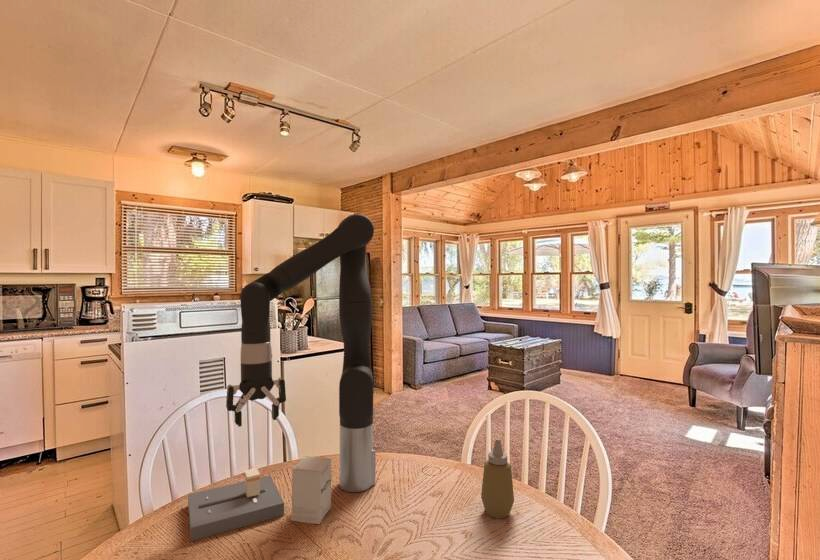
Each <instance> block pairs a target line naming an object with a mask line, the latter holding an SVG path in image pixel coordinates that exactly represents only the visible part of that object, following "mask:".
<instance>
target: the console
mask: <svg viewBox="0 0 820 560" xmlns="http://www.w3.org/2000/svg"><path fill="white" fill-rule="evenodd" d="M187 508H188V510H187V511H188V521H189V522H188V523H189V535H190V537H189V538H190V542H195V541H198V540H201V539H205V538H208V537H211V536H215V535H219V534H224V533H227V532H229V531H232V530H237V529H241V528H245V527H247V526H251V525H254V524H255V525H256V524H257V523H261V522H264V521H269V520H272V519H275V518H279V517H281V516H285V502H284V500H283V498H282V495H281V494H280V492H279V490H278V488H277V485H276V484H275V482H274V480H273V478H272V476H271V475H266V476H260V494H259V495H255V496H251V497H247V496H246V493H245V480H244V481H240V482H235V483H231V484H227V485H222V486H218V487H213V488H208V489H204V490H200V491H196V492H191V493H189V494H187Z"/></svg>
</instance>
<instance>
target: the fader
mask: <svg viewBox="0 0 820 560" xmlns="http://www.w3.org/2000/svg"><path fill="white" fill-rule="evenodd" d="M243 473H244V474H243V475H244V481H245V493H246V496H247V497H251V496H255V495H259V494H260V477H261V475H260V471H259V469H258V467H256V468H251V469H246V470H244V472H243Z"/></svg>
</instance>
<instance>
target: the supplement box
mask: <svg viewBox="0 0 820 560" xmlns="http://www.w3.org/2000/svg"><path fill="white" fill-rule="evenodd" d="M291 472H292V474H291V476H292V477H291V478H292V479H291V521H292V522H300V523H305V524H315V525H320V523H322V521H323V520H324V517H326V515H327V514H328V512H329V511H330V509H331V508H332V458H331V457H330V458H329V457H321V456H309V455H308V456H307V455H306V456H304V457H303V458H302V459H301V460H300V461H299V462H298V463H297V464H296V465H295V466H294V467H292V469H291Z"/></svg>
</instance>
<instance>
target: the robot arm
mask: <svg viewBox="0 0 820 560" xmlns="http://www.w3.org/2000/svg"><path fill="white" fill-rule="evenodd" d="M374 233H375V225H374V223H373V222H372V220H371V219H370V218H369V217H368V216H366V215H364V214H360V213H359V214H358V213H356V214H355V213H354V214H350V215H347V217H345V218H344V219H342V220H341V221H340V222H339V224H338V226H337V227H336V228H335V229H334V230H332V231H331V232H330V233H329V234H328V235H326V236H325V237H324V238H322V239H320V240H319V241H317V242H316V243H314V244H312V245H310V246H309V247H306V248H305V249H303V250H301V251H299V252H298V253H296V254H294V255H292V256H290V257H289V258H287V259H286V260H284V261H283V262H281V263H280V264H278V265H276V266H275V267H274V268H273V269H271V271H269V272H268V273H265V274H263V275H262V276H260V277H259V278H257V279H255V280H253V281H252V282H251V281H250V283H248V284H245V286H243V288H242V290H241V291H240V296H239V297H240V298H239V299H240V300H239V301H240V315H241V331H240V334H241V336H240V338H241V346H240V383H239V384H237V385H232V384H228V385H227V387H226V401H225V402H226V404H225V406H226V409H227V411H228V412H234V423H235V424H236V425H235V426H237V427H238V428H239V427H242V426H243V422H242V421H243V420H242V419H243V417H242V409H243V407H244V406H245V405H246V404H247V403H248V401H251V402H252V401H256V400H263V399H265V398H266V397H267V398H268V399H269V400H270V401H271V403H272V404H271V418H272V419H271V420H273V421H277V418H279V415H280V404H282V403H285V402H287V395H286V394H287V393H286V382H285V379H283V377H279V378H278V379H274V380H273V354H272V352H273V351H272V345H271V344H272V343H271V323H270V313H271V312H270V311H271V310H270V309H271V301H273V300H274V299H276V298H277V297H279V296H280V295H282V294H283V293H285V292H287V291H289V290H291V289H293V288H295V287H297V286H298V285H299V284H301V283H303V282H305V281H306V280H307V279H309V278H310V277H311V276H313V275H314V274H316V273H317V272H319V271H320V270H321V269H323V268H324V267H325V266H327V265H329V264H330V263H331V262H333V261H334V260H336V259H337V258H339V261H340V262H339V263H340V265H339V267H340V269H339V270H340V271H339V284H338V285H339V288H338V289H339V291H338V292H339V293H338V303H339V304H338V306H339V307H338V311H339V312H338V316H339V326H340V330H341V331H340V332H341V336H342V342H343V361H342V371H341V375H340V381H339V386H338V396H339V397H338V404H339V405H338V406H339V409H338V410H339V411H338V416H339V477H338V479H339V481H338V482H339V483H338V484H339V485H338V486H339V487H340V489H341V490H343V491H345V492H349V493H359V492H364V491H367V490H369V489H370V488H371V487H372V486H374V485H376V467H377V466H376V464H377V463H376V460H377V459H376V453H377V452H376V449H374V448H373V447H374V437H373V436H374V376H373V370H372V364H371V363H372V362H371V354H370V339H371V334H372V333H371V332H372V322H373V297H372V295H373V294H372V291H371V284H370V281H369V277H368V272H367V267H366V252H367V251H366V250H367V245H368V244H369V243H370V242H371V241H372V239H373V237H374ZM274 386H276V388H277V389H278V397H275V396H274V395H273V393H271V390H272V389H273V388H274ZM238 390H239V391H240V392H241V395H240V396H239V398H238V400H237V402H236V403H235V404H234V396H235V395H236V394H237V392H238Z"/></svg>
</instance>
